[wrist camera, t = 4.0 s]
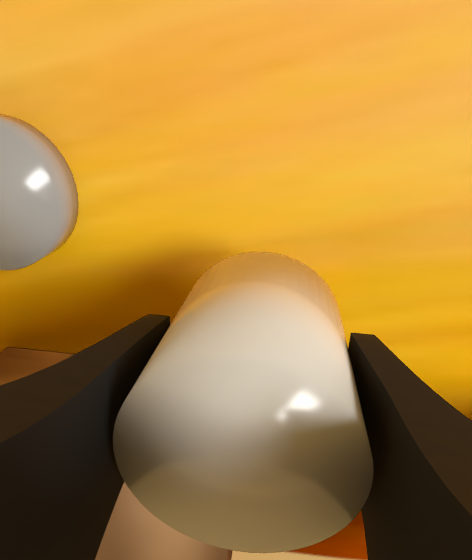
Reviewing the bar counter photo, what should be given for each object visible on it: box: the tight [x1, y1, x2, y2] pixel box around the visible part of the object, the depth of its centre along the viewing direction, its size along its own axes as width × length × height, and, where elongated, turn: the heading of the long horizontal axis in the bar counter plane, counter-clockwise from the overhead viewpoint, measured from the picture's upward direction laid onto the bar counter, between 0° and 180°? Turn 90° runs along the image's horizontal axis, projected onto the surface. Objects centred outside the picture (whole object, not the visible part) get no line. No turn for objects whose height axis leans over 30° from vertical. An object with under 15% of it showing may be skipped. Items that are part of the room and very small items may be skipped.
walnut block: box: [0, 347, 232, 560], centre depth 20 cm, size 12×12×3 cm
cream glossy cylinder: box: [113, 252, 374, 553], centre depth 10 cm, size 5×5×6 cm
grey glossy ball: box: [0, 114, 78, 270], centre depth 16 cm, size 6×6×2 cm
